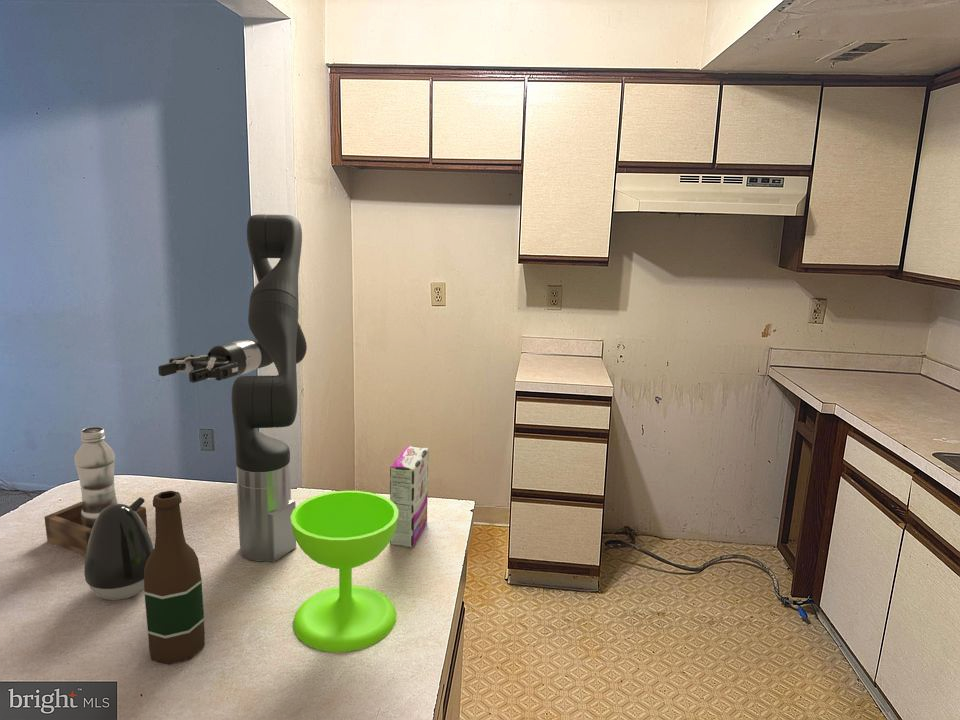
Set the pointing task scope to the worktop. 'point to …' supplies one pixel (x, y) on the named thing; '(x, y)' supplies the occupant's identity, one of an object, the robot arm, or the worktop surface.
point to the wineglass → (344, 568)
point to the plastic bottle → (95, 474)
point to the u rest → (73, 528)
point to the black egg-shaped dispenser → (117, 552)
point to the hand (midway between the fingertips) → (174, 374)
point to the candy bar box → (409, 494)
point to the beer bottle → (173, 588)
